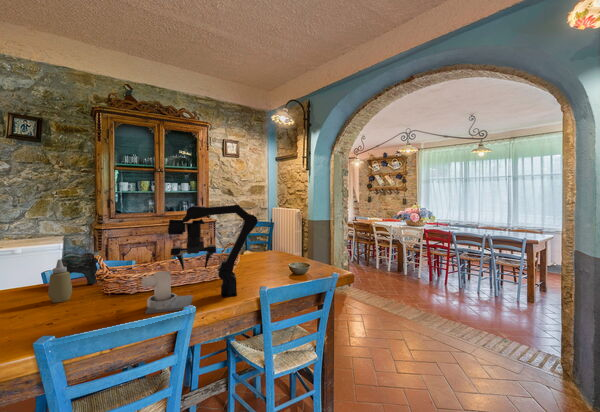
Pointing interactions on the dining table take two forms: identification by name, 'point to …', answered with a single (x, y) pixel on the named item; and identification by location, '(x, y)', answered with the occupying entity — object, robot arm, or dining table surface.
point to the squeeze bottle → (60, 284)
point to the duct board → (176, 307)
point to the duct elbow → (159, 285)
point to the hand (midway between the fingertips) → (194, 269)
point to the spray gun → (82, 264)
